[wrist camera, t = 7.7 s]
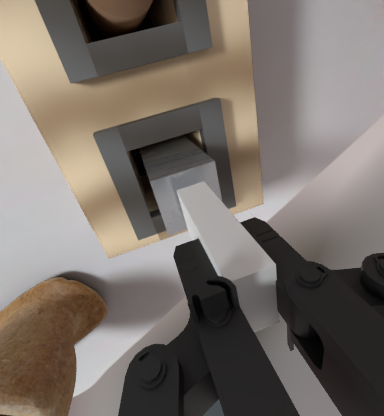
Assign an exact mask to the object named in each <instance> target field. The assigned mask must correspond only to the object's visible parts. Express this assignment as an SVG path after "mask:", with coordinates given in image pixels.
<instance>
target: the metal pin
mask: <svg viewBox="0 0 384 416" xmlns="http://www.w3.org/2000/svg"><path fill="white" fill-rule="evenodd" d="M139 151H140V154H141V157H142V160H143V163H144V166H145V169H146V172H147V175H148V178H149V181H150V184H151V187H152V189H153V192H154V195H155V198H156V201H157V204H158V207H159V210H160V213H161V216H162V218H163V221H164V224H165V227H166V230H167V233H168V236H170V235H173V234H176V233H179V232H181V231H184V230H187V225H186V222H185V218H184V215H183V211H182V208H181V204H180V201H179V197H178V194H177V190H179V189H182V188H185V187H188V186H191V185H194V184H197V183H200V182H203V181H204V182H205V183H206V184H207V185H208V186H209V187H210V189H211V190H212V191H213V192H214V193H215V194H216V195H217V197H218V198H219V199H220V200H221V201H222V198H221V192H220V187H219V181H218V176H217V170H216V165H215V161H214V160H213V159H212V158H211V157H209V156H208V155H207V154H206V153H205V152H203V151H202V150H201V149H200V148H199V147H197V146H196V145H195V144H194V143H192V142H191V141H190V140H189V139H188V138H186V137H185V136H184V135H180V136H177V137H174V138H170V139H167V140H164V141H160V142H157V143H154V144H150V145H147V146H144V147H140V148H139Z"/></svg>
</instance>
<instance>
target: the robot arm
mask: <svg viewBox="0 0 384 416" xmlns="http://www.w3.org/2000/svg"><path fill="white" fill-rule="evenodd" d="M177 194H178V197H179V201H180V204H181V208H182V211H183V215H184V218H185V222H186V225H187V229H188V232H189V234H190V236H191V239H192V241H190V242H187V243H184V244H181V245H179V246H176V248H175V252H174V259H175V263H176V266H177V269H178V272H179V275H180V278H181V281H182V284H183V287H184V290H185V294H186V297H187V300H188V306H189V309H190V318H189V321H188V324H187V326H186V327H185V329H184V331H182V332H181V333H180V334H179V336H178V337H176V338H175V339H174V340H172V341H171V342H170V343H169V344H168V345H164V344H153V345H150V346H148V347H145V348H144V349H142V350H141V351H140V352H139V353H138V354H136V355H135V357H134V358H133V360H132V361H131V363H130V364H129V367H128V370H127V373H126V376H125V381H124V387H123V392H122V398H121V404H120V409H119V415H118V416H203V415H204V414H205V413H206V412H207V410H208V409H209V408H210V407H211V406H212V405H213V404H214V403H215V402H216V401H217V400H218V399H219V400H220V403H221V406H222V409H223V412H224V416H300V415H299V414H298V412H297V410H296V408H295V406H294V404H293V403H292V401H291V399H290V397H289V395H288V394H287V392H286V390H285V388H284V386H283V384H282V382H281V381H280V379H279V377H278V375H277V373H276V372H275V370H274V368H273V366H272V364H271V362H270V361H269V359H268V357H267V355H266V353H265V351H264V350H263V348H262V346H261V344H260V342H259V340H258V339H257V337H256V335H255V333H254V332H257V331H259V330H261V329H264V328H266V327H269V326H271V325H273V324H276V323H278V322H279V313H280V315H281V316H282V317H283V319H284V320H285V322H286V323H287V338H288V339H287V340H288V346H289V348H290V351H292V350H294V346H293V345H294V344H295V346H296V347H297V349H298V350H299V352H300V353H301V355H302V356H303V358H304V359H305V360H306V362H307V364H308V365H309V367H310V368H311V370H312V371H313V373H314V374H315V375H316V377H317V378H318V380H319V382H320V383H321V385H322V386H323V388H324V389H325V391H326V392H327V393H328V395H329V397H330V398H331V399H332V401H333V403H334V404H335V406H336V407H337V409H338V410H339V412H340V413H341V415H342V416H384V253H377V254H372V255H370V256H367V257H366V258H365V259H364V261H363V262H362V267H361V268H352V269H343V270H330V269H328V268H326V267H325V266H323V265H321V264H318V263H315V262H309V261H306V260H305V259H304V258H303V257H301V255H300V254H299V253H298V252H296V251H295V250H294V249H293V248H292V247H291V246H290V245H289V244H288V243H287V242H286V241H285V240H284V239H283V238H282V237H280V236H279V235H278V233H276V231H274V230H273V229H272V228H271V227H270V226H269V225H268V224H267V223H266V222H265V221H262V220H260V219H257V218H255V217H254V218H252V219H249V220H246V221H243V222H239V221H238V220H237V219H236V218H235V216H234V215H233V214H232V213H231V212H230V211H229V209H228V208H227V207H226V206H225V205H224V204H223V202H222V201H221V200H220V199H219V198H218V197H217V195H216V194H215V193H214V192H213V191H212V190H211V189H210V187H209V186H208V185H207V184H206V183H205V182H204V181H203V182H200V183H197V184H194V185H191V186H188V187H185V188H182V189H179V190H177Z"/></svg>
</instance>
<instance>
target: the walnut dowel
mask: <svg viewBox="0 0 384 416" xmlns="http://www.w3.org/2000/svg"><path fill="white" fill-rule="evenodd" d="M152 1H153V0H85V3H86V5H87V8H88V11H89V13H90V16H91V18H92V20H93V22H94V24H95V25H96V27H97V28H98V29H99V31H100V32H101V33H102V34H104V35H105V36H107V37H108V38H113V37H117V36H121V35H125V34H129V33H134V32H138V31H139V29H140V27H141V25H142V23H143V20H144V18H145V16H146V14H147V12H148V10H149V8H150V6H151V4H152Z"/></svg>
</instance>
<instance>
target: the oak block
mask: <svg viewBox="0 0 384 416" xmlns="http://www.w3.org/2000/svg"><path fill="white" fill-rule="evenodd" d="M149 10H150V14H151V18H152V22H153V26H154V28H150V29H146V30H142V31H138V32H134V33H129V34H125V35H121V36H117V37H113V38H109V39H104V40H100V41H96V42H92V41H91V38H90V36H89V33H88V30H87V27H86V25H85V22H84V19H83V16H82V14H81V11H80V8H79V5H78V3H77V0H0V59H1V61H2V62H3V64H4V66H5V68H6V70H7V72H8V74H9V75H10V77H11V79H12V81H13V83H14V85H15V86H16V88H17V90H18V92H19V94H20V96H21V98H22V99H23V101H24V103H25V105H26V107H27V109H28V110H29V112H30V114H31V116H32V118H33V120H34V122H35V123H36V125H37V127H38V129H39V131H40V133H41V134H42V136H43V138H44V140H45V142H46V144H47V146H48V147H49V149H50V151H51V153H52V155H53V157H54V159H55V160H56V162H57V164H58V166H59V168H60V170H61V171H62V173H63V175H64V177H65V179H66V181H67V183H68V184H69V186H70V188H71V190H72V192H73V194H74V195H75V197H76V199H77V201H78V203H79V205H80V207H81V208H82V210H83V212H84V214H85V216H86V218H87V219H88V221H89V223H90V225H91V227H92V229H93V231H94V232H95V234H96V236H97V238H98V240H99V242H100V243H101V245H102V247H103V249H104V251H105V253H106V255H107V256H108V258H112V257H115V256H118V255H121V254H123V253H126V252H129V251H132V250H135V249H138V248H140V247H143V246H146V245H149V244H152V243H155V242H157V241H160V240H163V239H166V238H169V237H172V236H174V235H177V234H180V233H183V232H186V231H188V229H187V230H184V231H181V232H179V233H176V234H173V235H170V236H168V233H167V230H166V227H165V224H164V221H163V218H162V216H161V213H160V210H159V207H158V204H157V201H156V198H155V195H154V192H153V189H152V187H151V184H150V181H149V178H148V175H145V176H140V174H139V171H138V168H137V165H136V163H135V160H134V157H133V154H132V152H131V150H134V149H137V148H140V147H144V146H147V145H150V144H154V143H157V142H160V141H164V140H167V139H170V138H174V137H177V136H180V135H184V136H185V137H186V138H188V139H189V140H190V141H191V142H192V143H194V144H195V145H196V146H197V147H199V148H200V149H201V150H202V151H203V152H205V153H206V154H207V155H208V156H209V157H211V158H212V159H213V160H214V161H215V165H216V170H217V176H218V181H219V187H220V192H221V198H222V202H223V204H224V205H225V206H226V207H227V208H228V209H229V211H230V212H231V213H232V214H233V215H234V214H236V213H239V212H242V211H245V210H248V209H251V208H253V207H256V206H259V205H262V204H263V191H262V179H261V166H260V154H259V141H258V129H257V116H256V103H255V91H254V78H253V66H252V53H251V40H250V28H249V15H248V3H247V0H153V1H152V4H151V6H150V8H149Z"/></svg>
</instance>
